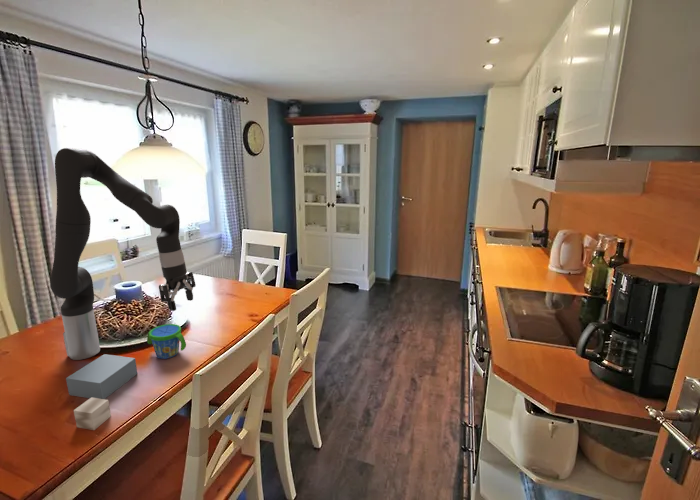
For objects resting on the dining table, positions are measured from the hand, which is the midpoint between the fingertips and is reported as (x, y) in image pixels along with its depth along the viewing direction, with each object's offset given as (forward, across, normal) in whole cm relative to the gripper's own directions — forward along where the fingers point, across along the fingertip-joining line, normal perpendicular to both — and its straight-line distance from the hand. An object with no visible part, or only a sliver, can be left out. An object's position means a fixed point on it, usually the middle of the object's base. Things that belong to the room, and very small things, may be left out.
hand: (182, 305), depth 125 cm
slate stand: (+18, +23, -15) cm, 33 cm away
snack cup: (+20, +2, -9) cm, 22 cm away
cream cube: (+19, +37, -2) cm, 41 cm away
